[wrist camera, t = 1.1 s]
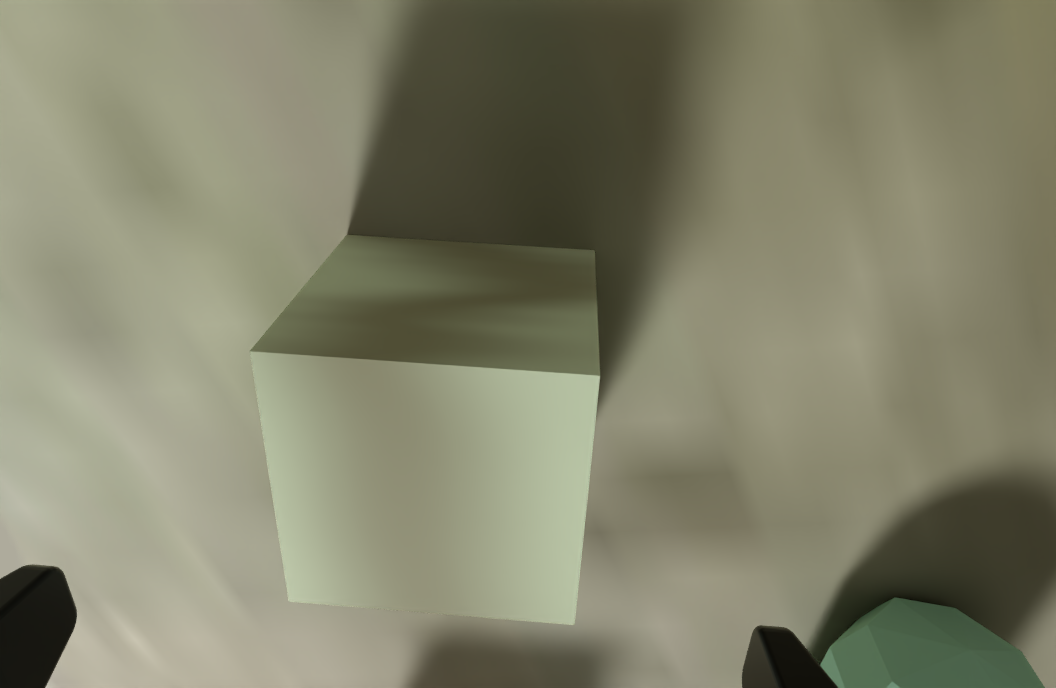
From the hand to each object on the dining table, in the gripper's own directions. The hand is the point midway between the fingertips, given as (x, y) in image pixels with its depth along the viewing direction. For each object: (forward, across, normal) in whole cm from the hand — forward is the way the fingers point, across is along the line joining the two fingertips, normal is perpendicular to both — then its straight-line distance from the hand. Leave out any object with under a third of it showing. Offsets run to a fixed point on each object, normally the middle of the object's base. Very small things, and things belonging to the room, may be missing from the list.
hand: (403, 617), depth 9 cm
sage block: (+7, 0, 0) cm, 7 cm away
